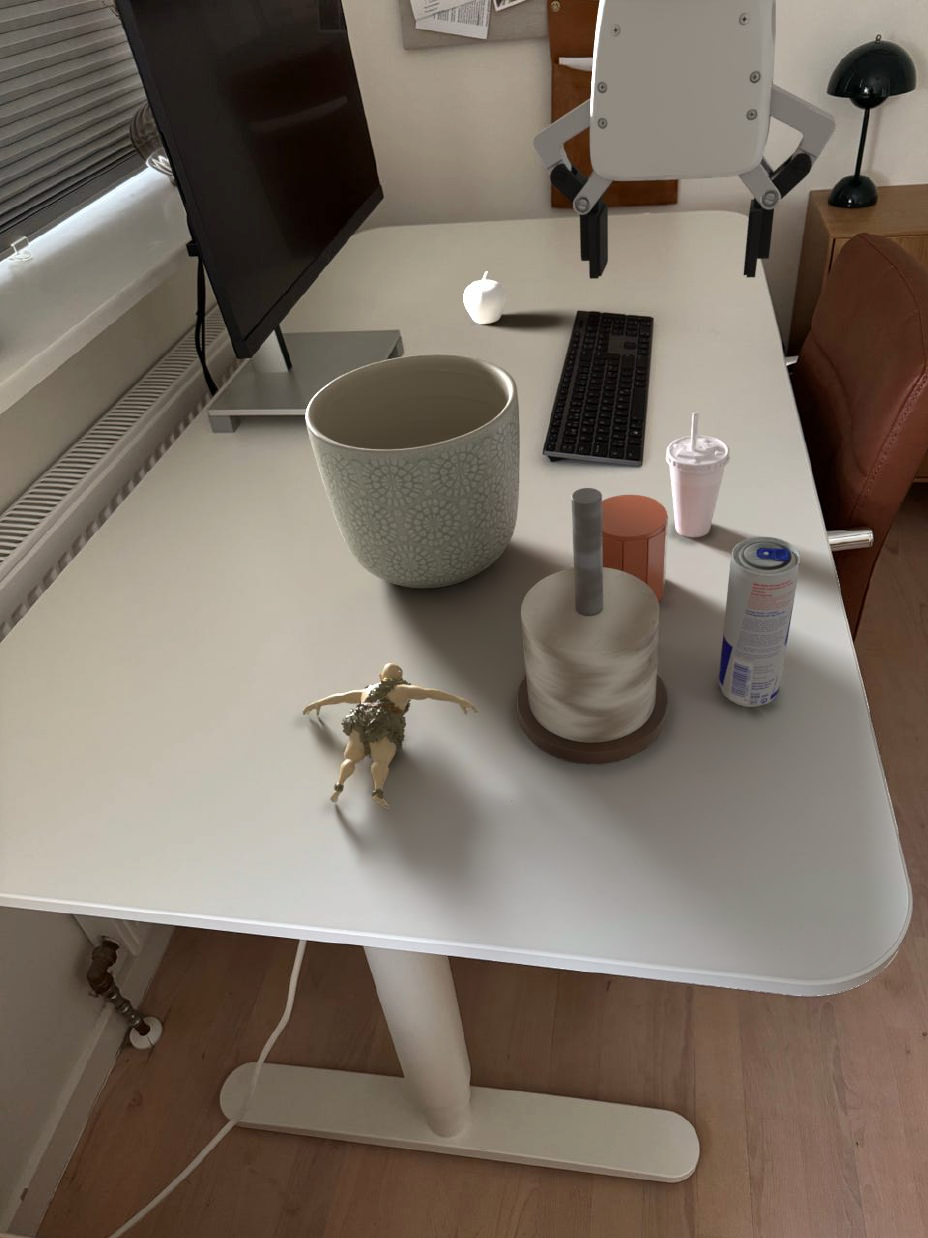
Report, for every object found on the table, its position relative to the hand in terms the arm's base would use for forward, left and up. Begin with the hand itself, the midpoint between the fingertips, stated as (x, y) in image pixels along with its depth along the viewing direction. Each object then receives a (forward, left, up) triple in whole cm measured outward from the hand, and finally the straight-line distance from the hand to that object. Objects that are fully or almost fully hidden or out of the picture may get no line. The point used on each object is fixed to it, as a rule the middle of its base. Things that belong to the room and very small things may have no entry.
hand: (672, 270), depth 58 cm
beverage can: (-8, +1, -36) cm, 37 cm away
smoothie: (-1, -24, -36) cm, 44 cm away
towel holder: (+5, +5, -36) cm, 37 cm away
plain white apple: (+38, -81, -36) cm, 97 cm away
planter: (+26, -15, -36) cm, 47 cm away
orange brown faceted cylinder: (+4, -12, -36) cm, 39 cm away
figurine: (+22, +13, -36) cm, 45 cm away
